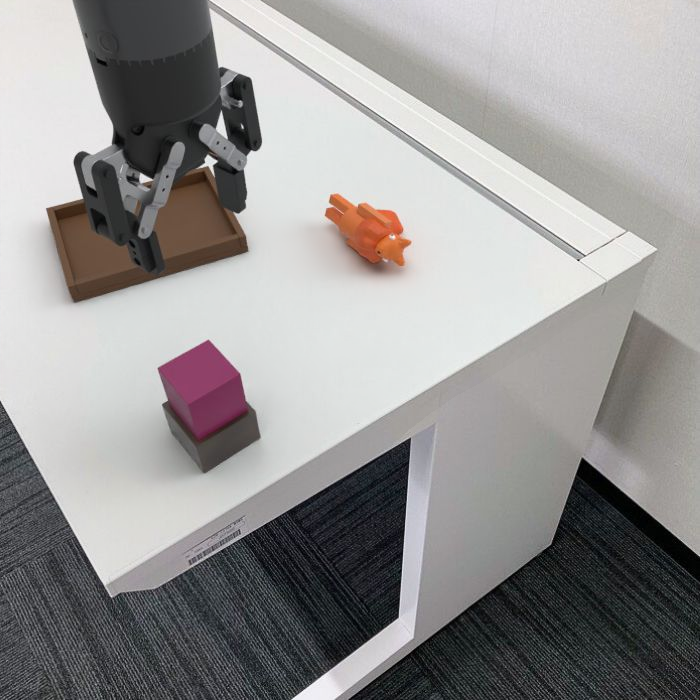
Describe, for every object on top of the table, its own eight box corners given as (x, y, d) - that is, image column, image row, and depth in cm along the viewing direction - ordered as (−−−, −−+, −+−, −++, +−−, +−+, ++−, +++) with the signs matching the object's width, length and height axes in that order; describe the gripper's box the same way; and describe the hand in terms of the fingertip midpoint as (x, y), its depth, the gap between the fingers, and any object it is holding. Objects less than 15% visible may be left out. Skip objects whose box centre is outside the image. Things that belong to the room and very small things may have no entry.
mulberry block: (198, 440, 64) (187, 404, 61) (168, 404, 67) (156, 367, 63) (248, 410, 66) (240, 373, 63) (217, 376, 69) (208, 339, 65)
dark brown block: (204, 473, 67) (196, 447, 64) (170, 430, 70) (161, 403, 67) (261, 437, 69) (256, 411, 66) (225, 397, 72) (219, 370, 69)
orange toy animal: (317, 187, 84) (390, 240, 78) (366, 179, 89) (438, 229, 83) (308, 227, 87) (377, 281, 81) (356, 218, 92) (425, 269, 86)
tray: (73, 302, 81) (67, 287, 80) (51, 223, 90) (45, 208, 89) (248, 251, 86) (246, 235, 85) (211, 181, 95) (208, 165, 94)
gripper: (187, -32, 50) (223, 174, 62) (7, 55, 43) (87, 270, 55) (274, -4, 47) (293, 207, 59) (95, 95, 40) (159, 314, 52)
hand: (194, 237), depth 57 cm, fingers open, 8 cm apart
